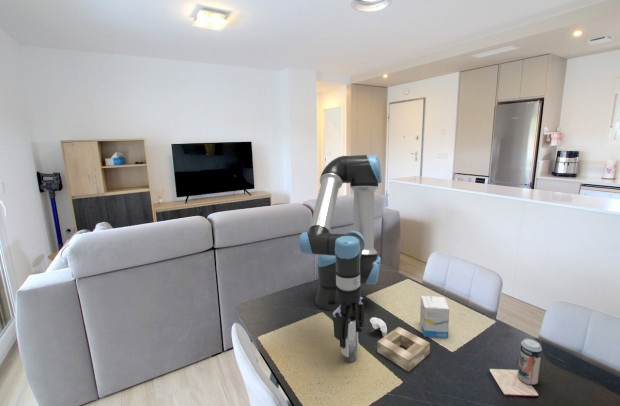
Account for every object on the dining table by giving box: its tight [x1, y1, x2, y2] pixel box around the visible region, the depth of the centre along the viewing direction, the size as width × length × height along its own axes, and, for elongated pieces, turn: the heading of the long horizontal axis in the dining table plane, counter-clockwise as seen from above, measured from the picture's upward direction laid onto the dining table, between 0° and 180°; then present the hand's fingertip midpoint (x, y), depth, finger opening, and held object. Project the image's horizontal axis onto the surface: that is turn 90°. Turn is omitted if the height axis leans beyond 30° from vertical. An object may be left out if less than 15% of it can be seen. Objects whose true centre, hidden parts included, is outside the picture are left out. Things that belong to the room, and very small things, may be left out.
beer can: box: [517, 338, 543, 385], centre depth 85 cm, size 5×5×12 cm
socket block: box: [376, 326, 431, 373], centre depth 99 cm, size 12×12×4 cm
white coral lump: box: [369, 317, 388, 337], centre depth 111 cm, size 8×7×6 cm
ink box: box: [419, 295, 450, 339], centre depth 109 cm, size 9×8×12 cm
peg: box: [343, 317, 357, 364], centre depth 97 cm, size 4×4×14 cm
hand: (350, 351), depth 98 cm, fingers closed on peg, 4 cm apart
